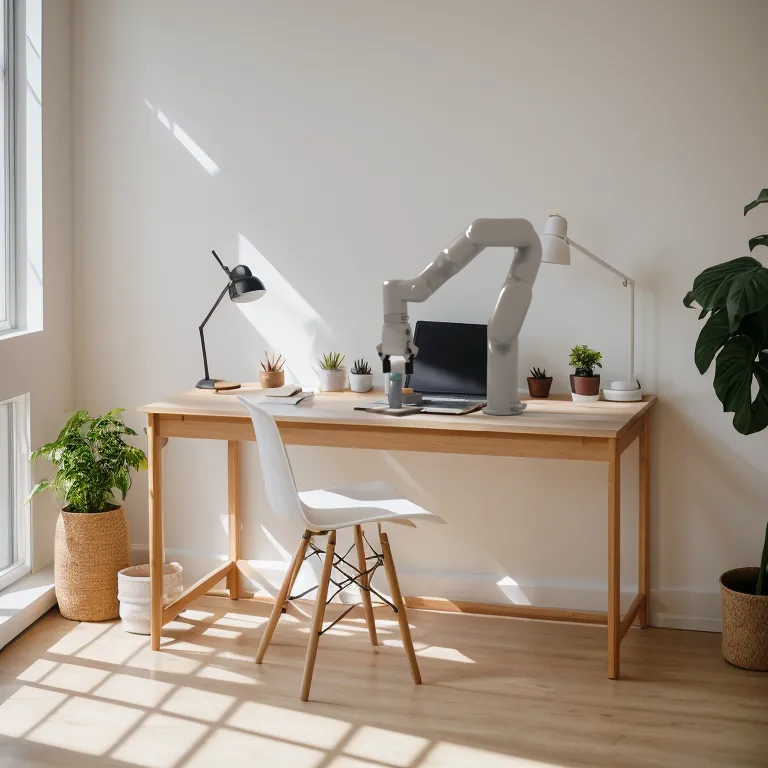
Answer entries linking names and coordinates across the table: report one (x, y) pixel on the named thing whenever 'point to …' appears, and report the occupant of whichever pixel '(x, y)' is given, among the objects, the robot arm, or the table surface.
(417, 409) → the board
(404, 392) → the button
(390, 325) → the robot arm
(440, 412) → the table surface
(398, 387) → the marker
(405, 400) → the button housing
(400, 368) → the photo printer
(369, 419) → the table surface
